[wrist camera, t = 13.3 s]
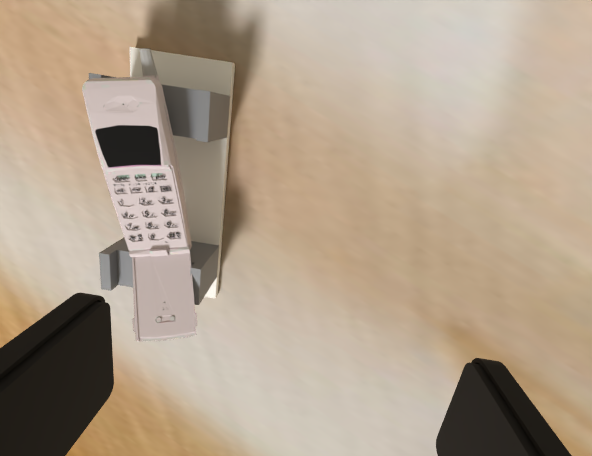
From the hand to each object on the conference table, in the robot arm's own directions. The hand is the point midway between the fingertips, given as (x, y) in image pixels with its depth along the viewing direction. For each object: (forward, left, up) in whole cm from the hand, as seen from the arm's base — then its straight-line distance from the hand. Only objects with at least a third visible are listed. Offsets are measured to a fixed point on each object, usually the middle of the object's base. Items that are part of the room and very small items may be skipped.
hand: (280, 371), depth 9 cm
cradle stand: (+3, -14, -28) cm, 32 cm away
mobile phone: (+3, -14, -23) cm, 27 cm away
